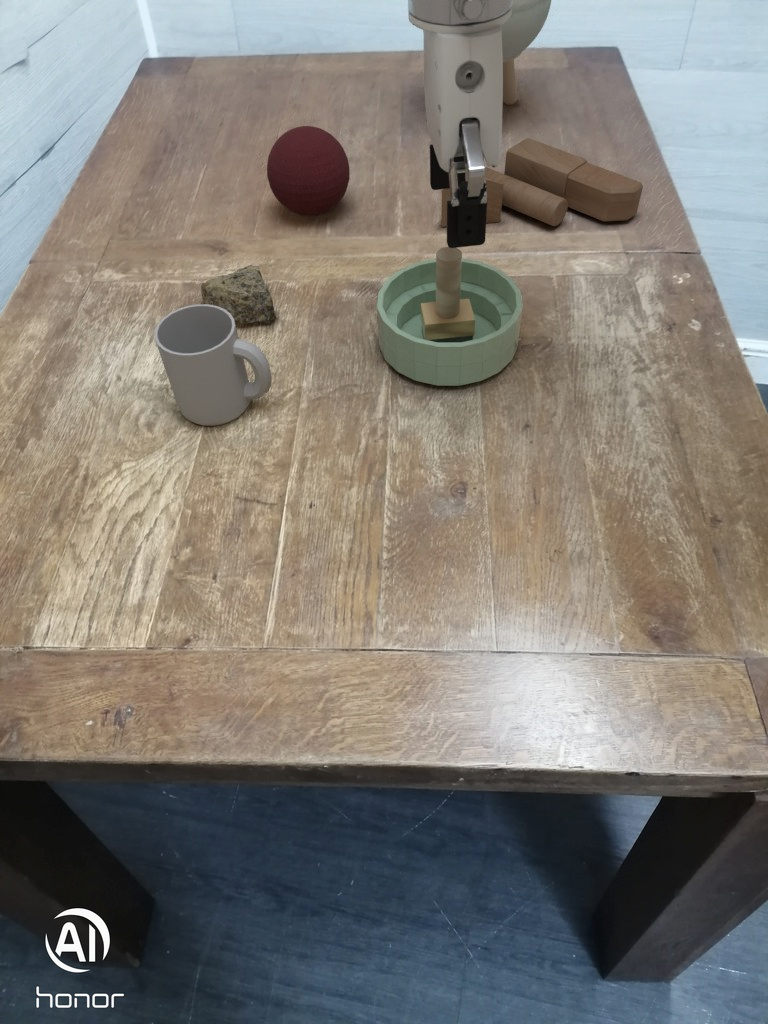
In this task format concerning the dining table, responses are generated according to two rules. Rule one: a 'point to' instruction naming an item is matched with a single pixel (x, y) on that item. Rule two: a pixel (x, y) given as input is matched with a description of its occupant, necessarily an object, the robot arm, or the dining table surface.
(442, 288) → the wooden stamp
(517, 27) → the planter
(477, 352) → the bowl
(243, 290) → the rock
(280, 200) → the decorative ball
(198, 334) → the cup
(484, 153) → the robot arm
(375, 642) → the dining table surface
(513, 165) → the wooden block set
